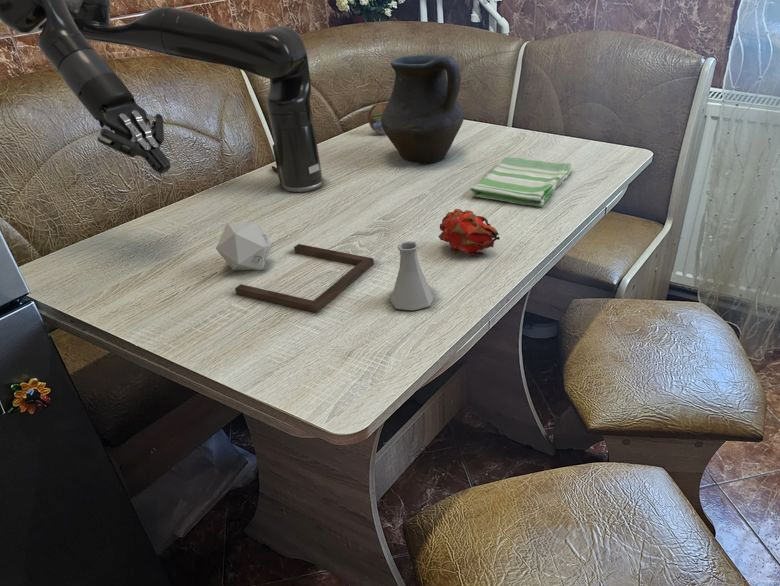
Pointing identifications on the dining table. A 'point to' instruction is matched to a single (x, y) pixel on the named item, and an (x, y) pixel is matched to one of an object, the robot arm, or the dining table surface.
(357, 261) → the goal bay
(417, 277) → the flask
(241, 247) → the die
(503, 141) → the dining table surface
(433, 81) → the pitcher
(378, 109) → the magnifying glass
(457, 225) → the dragon fruit
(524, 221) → the dining table surface
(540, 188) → the dish towel
